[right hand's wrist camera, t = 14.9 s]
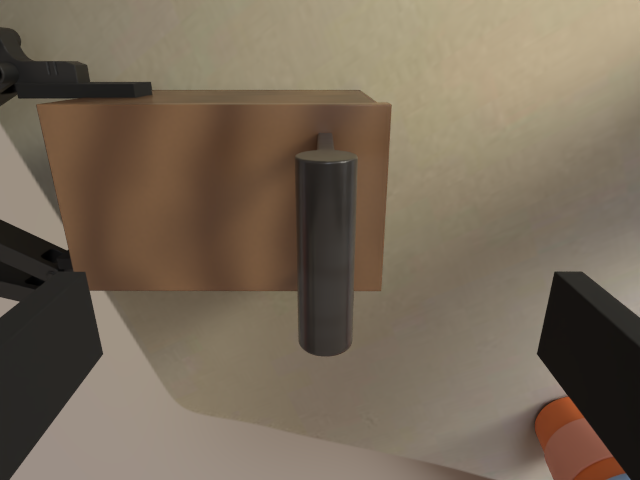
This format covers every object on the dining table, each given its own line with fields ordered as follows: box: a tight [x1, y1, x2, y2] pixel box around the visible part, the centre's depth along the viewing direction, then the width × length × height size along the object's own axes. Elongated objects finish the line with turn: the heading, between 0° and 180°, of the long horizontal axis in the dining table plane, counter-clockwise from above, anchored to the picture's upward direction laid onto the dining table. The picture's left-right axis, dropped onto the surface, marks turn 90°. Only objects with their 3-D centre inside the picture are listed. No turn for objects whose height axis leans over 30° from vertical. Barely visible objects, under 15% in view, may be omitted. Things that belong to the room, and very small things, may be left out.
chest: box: [52, 90, 377, 103], centre depth 29 cm, size 16×10×11 cm, turn 90°
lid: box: [36, 103, 392, 356], centre depth 20 cm, size 17×10×8 cm, turn 90°
